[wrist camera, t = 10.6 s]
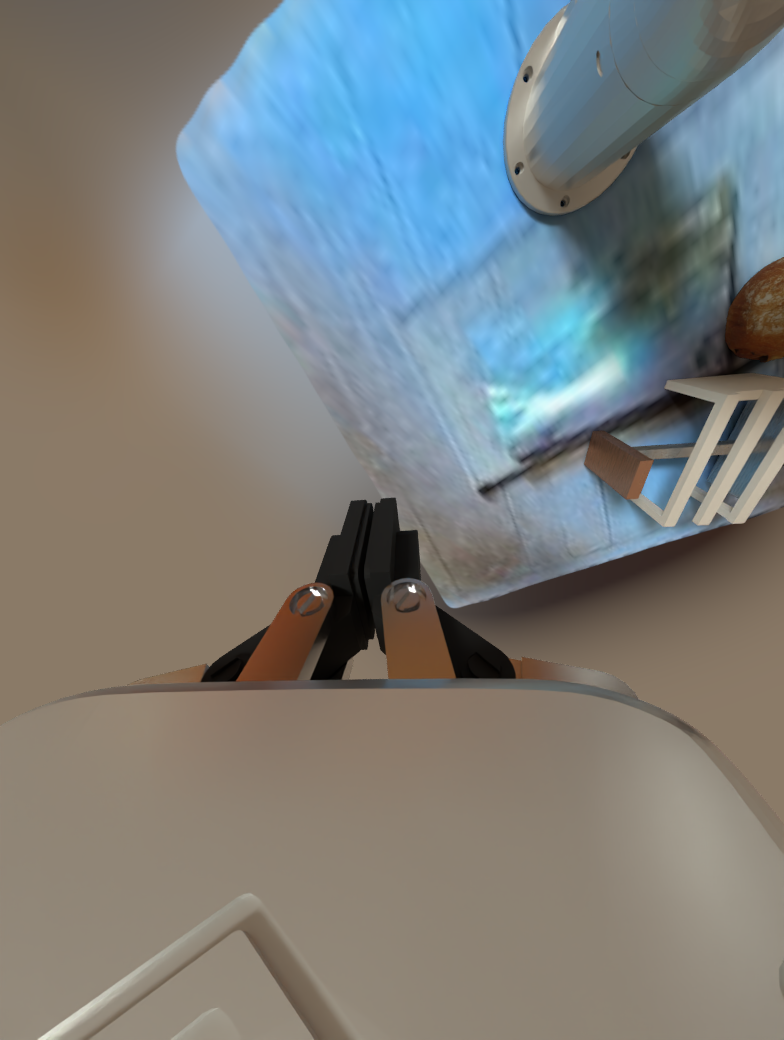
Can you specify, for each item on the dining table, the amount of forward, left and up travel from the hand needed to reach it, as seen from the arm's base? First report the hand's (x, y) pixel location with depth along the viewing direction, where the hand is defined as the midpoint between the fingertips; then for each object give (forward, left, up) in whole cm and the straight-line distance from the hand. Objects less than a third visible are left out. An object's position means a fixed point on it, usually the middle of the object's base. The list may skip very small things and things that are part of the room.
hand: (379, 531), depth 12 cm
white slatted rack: (+12, +40, -35) cm, 54 cm away
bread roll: (-4, +43, -35) cm, 56 cm away
